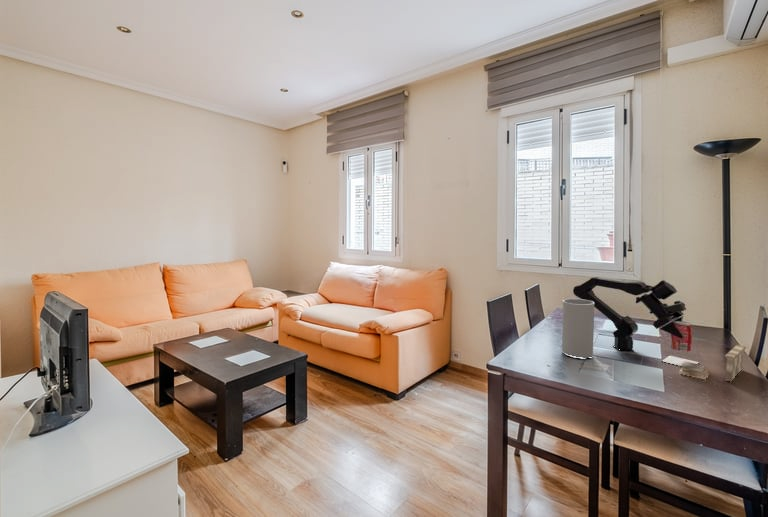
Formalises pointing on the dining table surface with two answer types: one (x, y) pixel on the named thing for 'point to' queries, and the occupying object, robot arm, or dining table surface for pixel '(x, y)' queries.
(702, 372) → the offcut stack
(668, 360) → the white mat
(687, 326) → the soda can
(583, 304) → the cylinder vase
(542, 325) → the dining table surface
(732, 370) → the rack board
